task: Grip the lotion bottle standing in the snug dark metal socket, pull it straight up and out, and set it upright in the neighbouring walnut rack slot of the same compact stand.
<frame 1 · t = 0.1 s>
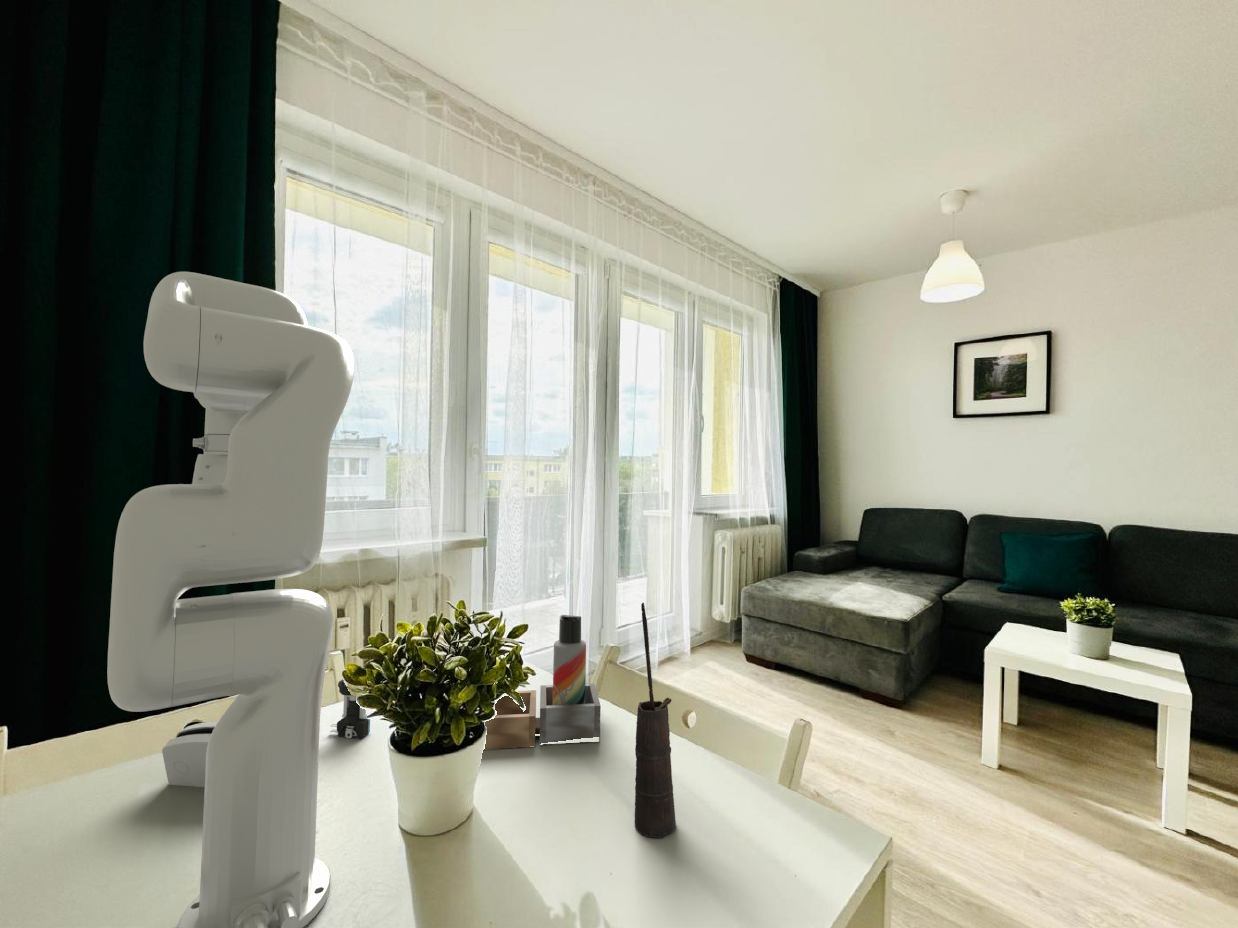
hand: (227, 549, 88), 31 cm above the table, tool pointing down, fingers open, 9 cm apart
lotion bottle: (568, 731, 92), resting in bottle stand
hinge: (228, 786, 75), on the table
butter churn: (660, 822, 68), on the table
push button: (350, 735, 90), on the table
bottle stand: (536, 731, 92), on the table
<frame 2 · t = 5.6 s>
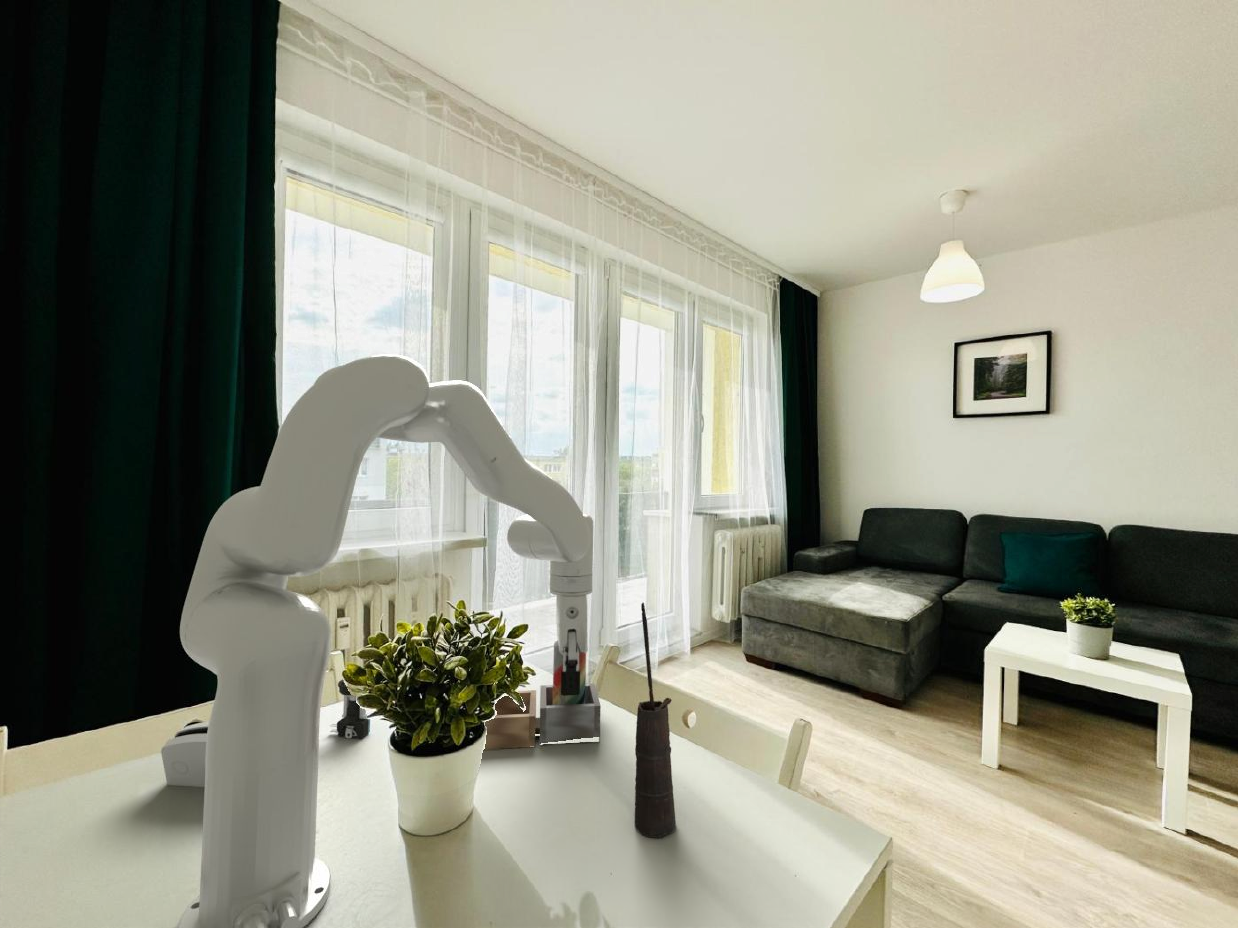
hand: (569, 686, 93), 8 cm above the table, tool pointing down, fingers closed on lotion bottle, 5 cm apart
lotion bottle: (568, 731, 92), resting in bottle stand, touching gripper
everything else where it was.
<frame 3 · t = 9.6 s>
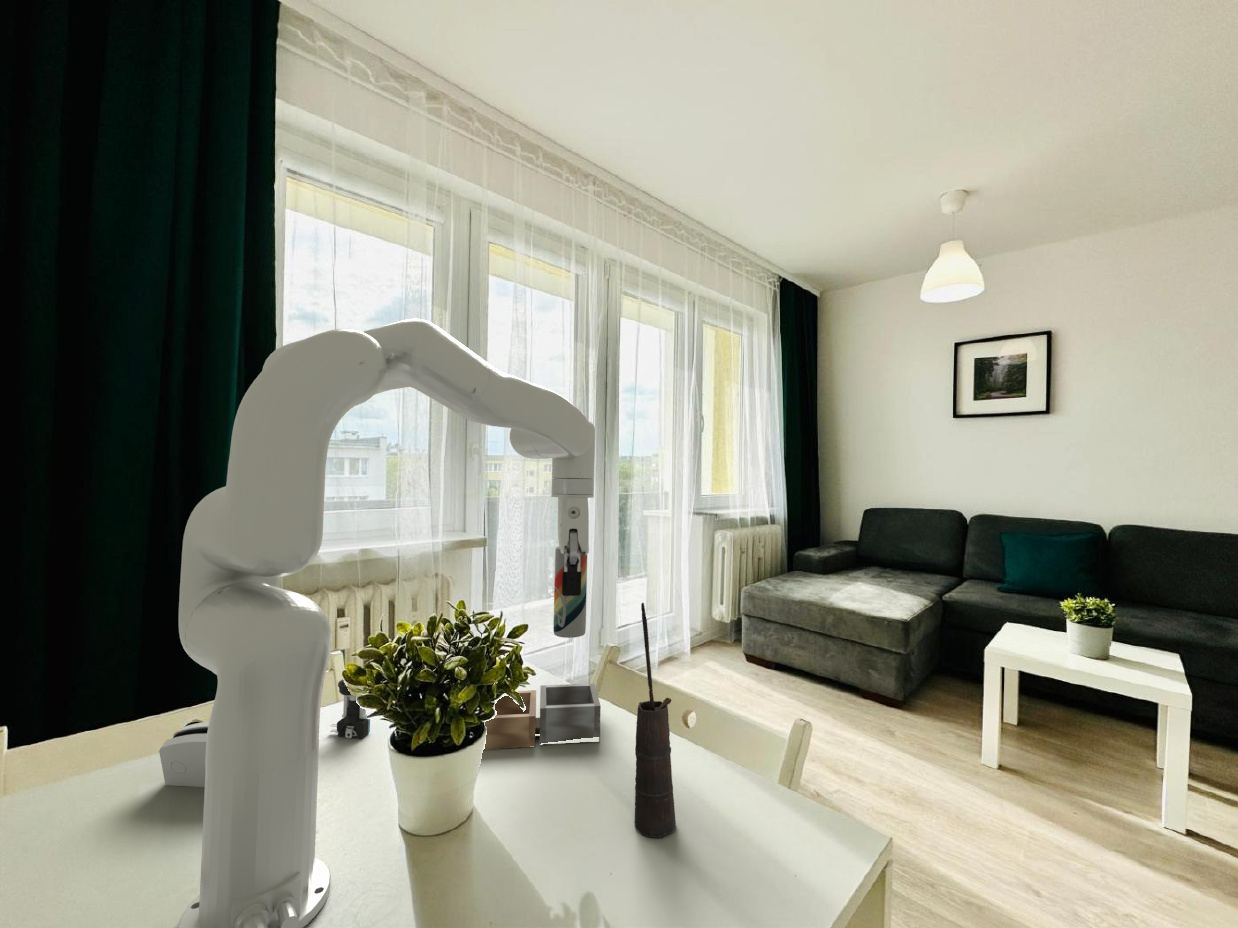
hand: (570, 590, 93), 24 cm above the table, tool pointing down, fingers closed on lotion bottle, 5 cm apart
lotion bottle: (569, 634, 93), point 16 cm above the table, touching gripper
everything else where it was.
when the fingers open (9 cm above the table, at t = 13.8 s): lotion bottle drops 1 cm, resting in bottle stand.
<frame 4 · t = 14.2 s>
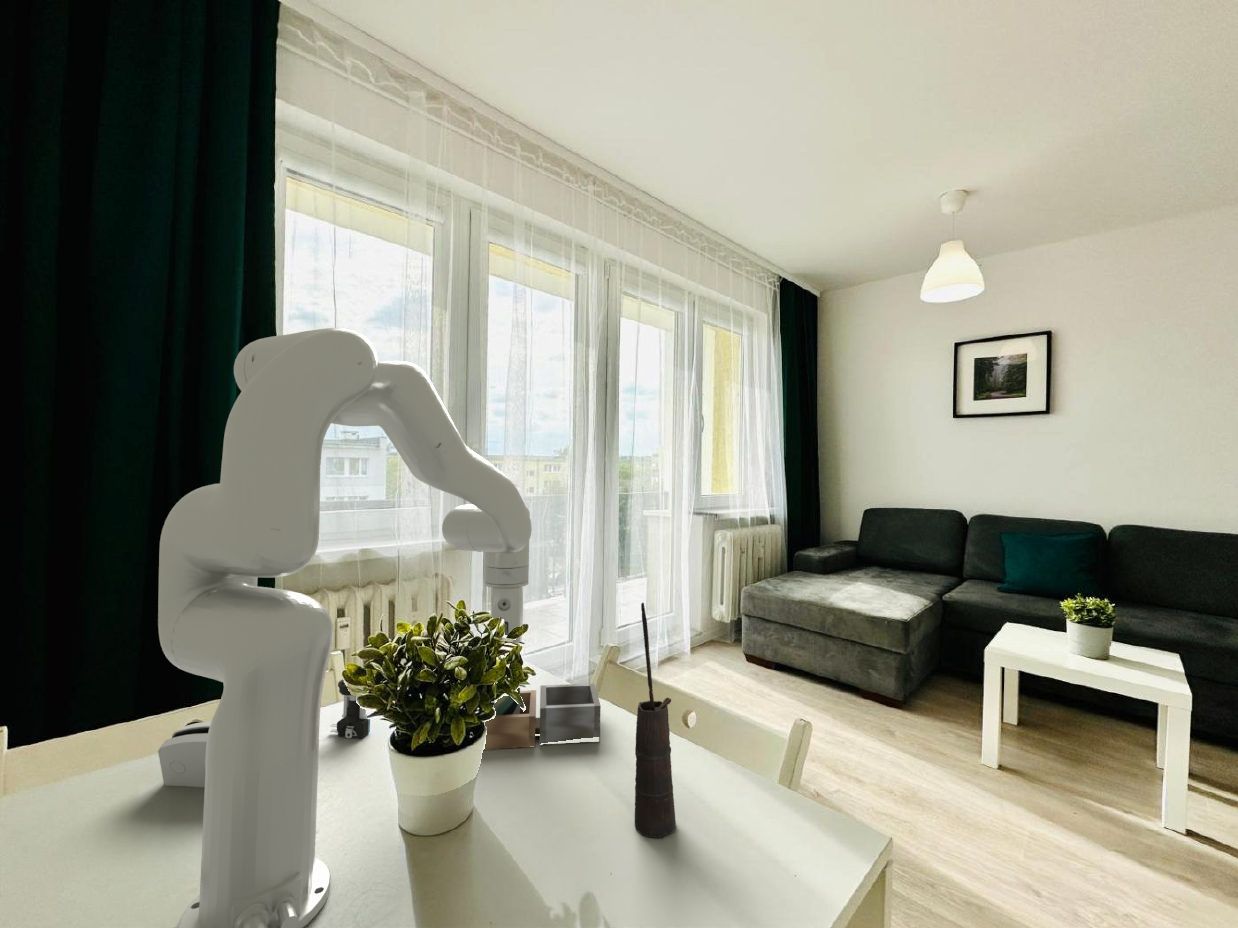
hand: (504, 675, 91), 10 cm above the table, tool pointing down, fingers open, 9 cm apart
lotion bottle: (502, 734, 91), resting in bottle stand
everything else where it was.
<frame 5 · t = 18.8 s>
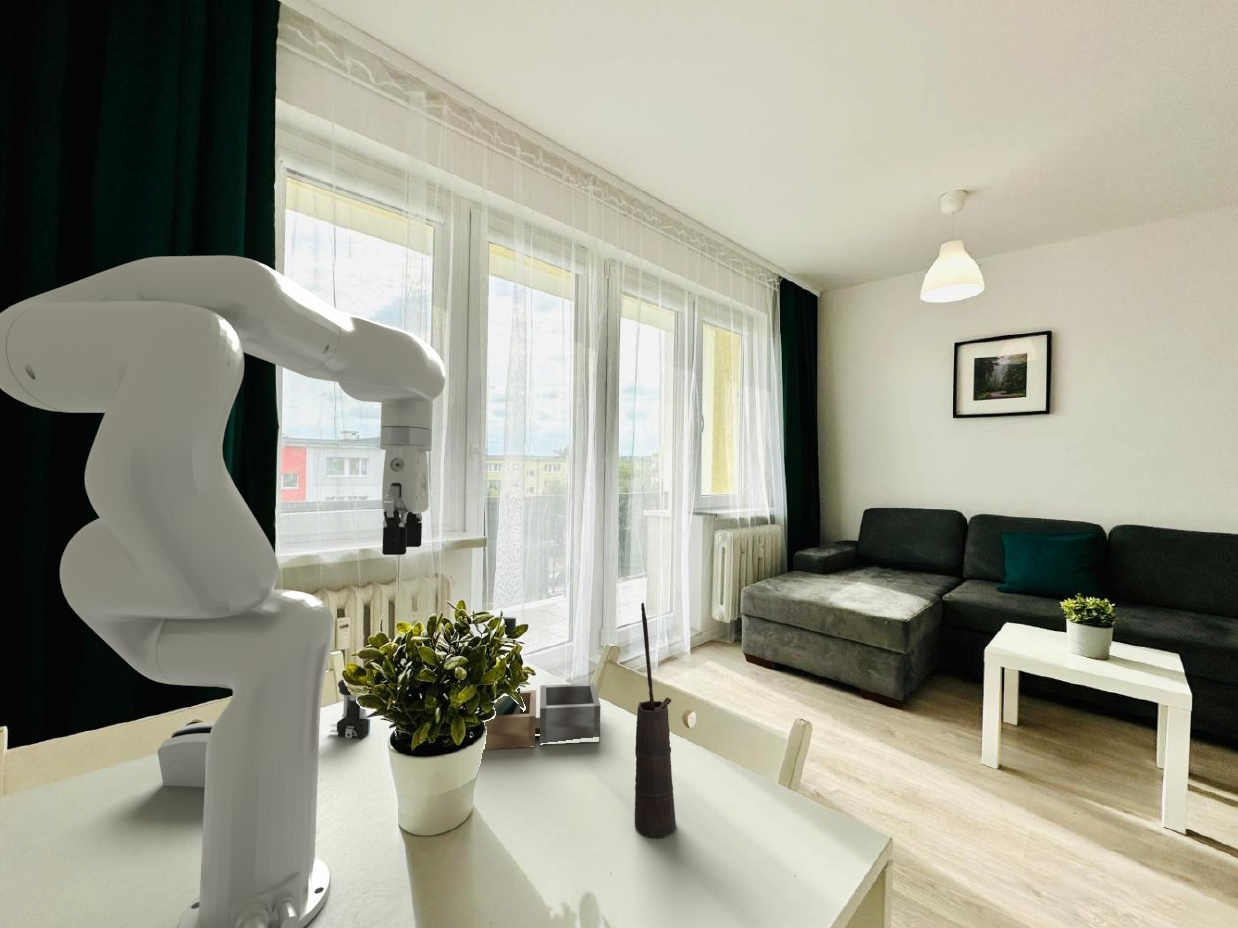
hand: (403, 550, 82), 32 cm above the table, tool pointing down, fingers open, 9 cm apart
nothing on the table moved.
at the end: lotion bottle 0.2 cm from the target spot, resting in bottle stand; lotion bottle tilted 0°; the gripper is holding nothing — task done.
